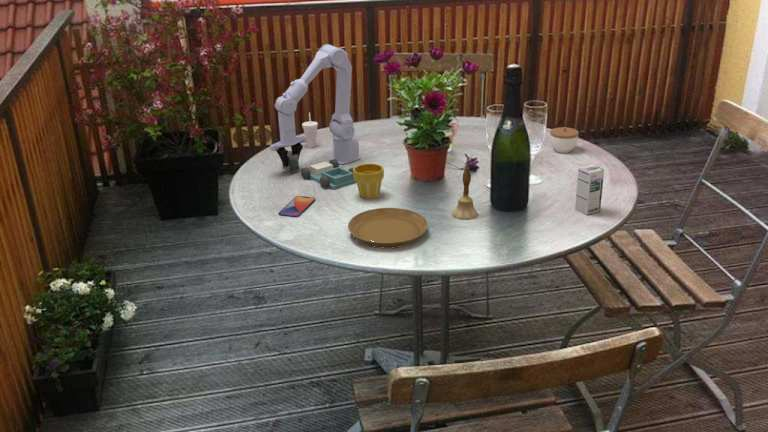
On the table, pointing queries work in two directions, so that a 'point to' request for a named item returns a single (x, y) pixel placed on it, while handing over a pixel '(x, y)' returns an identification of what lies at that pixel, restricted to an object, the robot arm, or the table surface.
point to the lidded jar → (563, 139)
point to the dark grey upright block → (292, 162)
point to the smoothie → (310, 132)
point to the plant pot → (368, 179)
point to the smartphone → (297, 206)
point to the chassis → (329, 174)
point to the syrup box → (589, 189)
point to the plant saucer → (387, 227)
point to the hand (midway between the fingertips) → (290, 164)
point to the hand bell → (465, 200)
